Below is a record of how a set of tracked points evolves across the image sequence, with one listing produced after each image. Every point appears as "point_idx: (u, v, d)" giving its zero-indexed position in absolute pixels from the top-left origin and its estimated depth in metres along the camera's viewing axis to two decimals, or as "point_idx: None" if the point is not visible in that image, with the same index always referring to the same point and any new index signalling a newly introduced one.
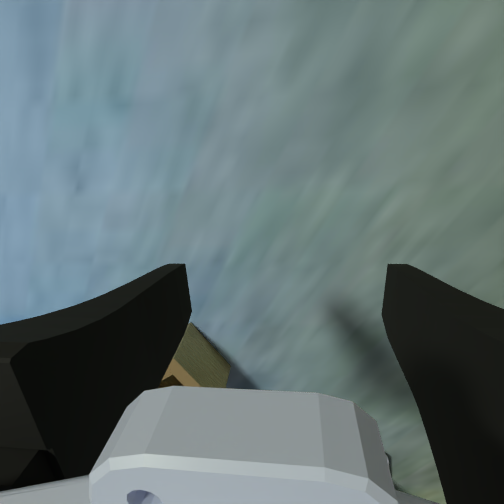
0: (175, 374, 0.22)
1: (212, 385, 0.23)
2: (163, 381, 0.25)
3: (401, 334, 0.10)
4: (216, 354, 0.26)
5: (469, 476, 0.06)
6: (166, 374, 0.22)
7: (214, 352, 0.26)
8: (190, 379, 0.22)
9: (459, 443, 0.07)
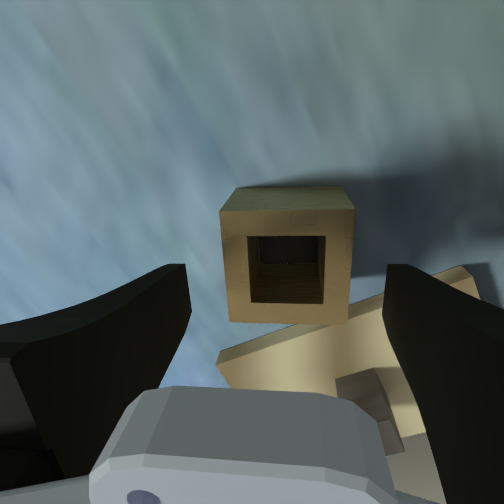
0: (248, 231, 0.13)
1: (318, 203, 0.13)
2: (281, 280, 0.16)
3: (401, 334, 0.10)
4: (305, 188, 0.15)
5: (469, 476, 0.06)
6: (241, 245, 0.13)
7: (298, 188, 0.15)
8: (271, 215, 0.12)
9: (459, 443, 0.07)
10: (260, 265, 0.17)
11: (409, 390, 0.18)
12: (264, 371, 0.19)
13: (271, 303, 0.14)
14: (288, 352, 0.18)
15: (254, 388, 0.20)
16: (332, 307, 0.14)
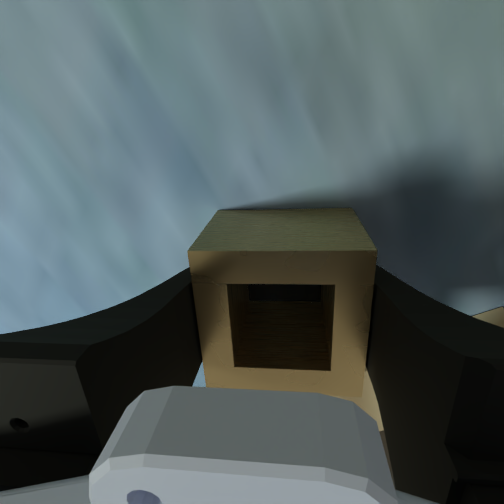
0: (229, 278, 0.09)
1: (324, 238, 0.09)
2: (275, 330, 0.12)
3: None
4: (305, 211, 0.12)
5: (412, 472, 0.06)
6: (219, 295, 0.09)
7: (297, 211, 0.12)
8: (259, 257, 0.09)
9: (405, 439, 0.07)
10: (249, 305, 0.14)
11: None
12: None
13: (261, 368, 0.10)
14: None
15: None
16: (342, 375, 0.10)
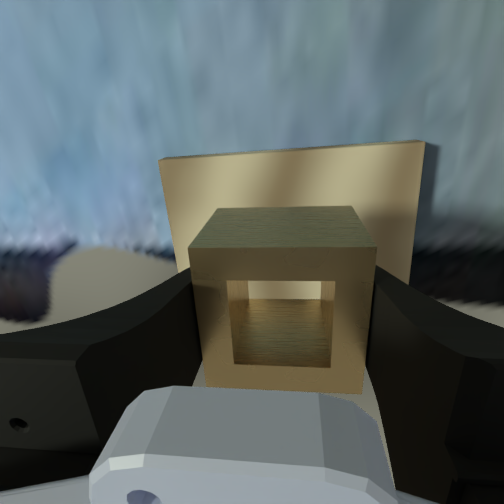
0: (229, 275, 0.09)
1: (324, 235, 0.09)
2: (275, 327, 0.12)
3: None
4: (305, 208, 0.12)
5: (412, 472, 0.06)
6: (219, 292, 0.09)
7: (297, 209, 0.12)
8: (259, 254, 0.09)
9: (405, 440, 0.07)
10: (249, 303, 0.14)
11: None
12: (204, 184, 0.19)
13: (261, 366, 0.10)
14: (235, 169, 0.18)
15: (187, 201, 0.19)
16: (342, 372, 0.10)
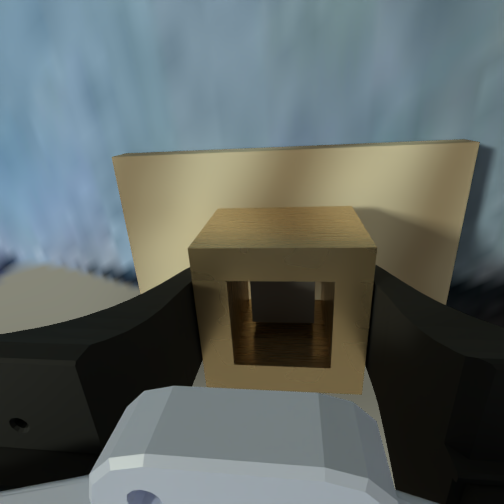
0: (229, 275, 0.09)
1: (324, 235, 0.09)
2: (275, 328, 0.12)
3: None
4: (305, 209, 0.12)
5: (412, 471, 0.06)
6: (219, 292, 0.10)
7: (297, 209, 0.12)
8: (259, 254, 0.09)
9: (405, 440, 0.07)
10: (249, 303, 0.14)
11: None
12: (174, 191, 0.14)
13: (261, 366, 0.10)
14: (216, 172, 0.13)
15: (151, 212, 0.14)
16: (342, 372, 0.10)
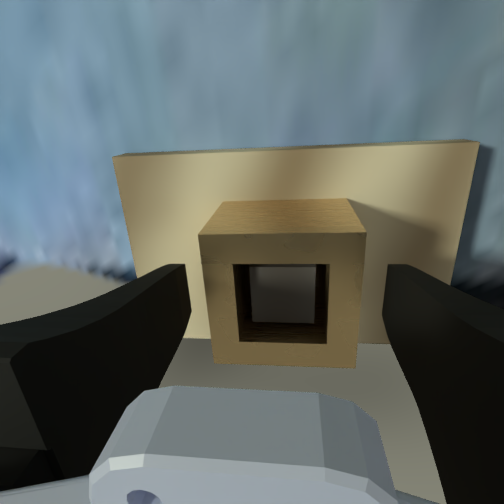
0: (235, 259, 0.10)
1: (320, 223, 0.10)
2: None
3: (401, 334, 0.10)
4: (303, 201, 0.13)
5: (469, 476, 0.06)
6: (226, 274, 0.11)
7: (296, 201, 0.13)
8: (261, 239, 0.10)
9: (459, 443, 0.07)
10: None
11: None
12: (175, 191, 0.14)
13: (264, 342, 0.11)
14: (216, 172, 0.13)
15: (152, 212, 0.14)
16: (337, 347, 0.11)
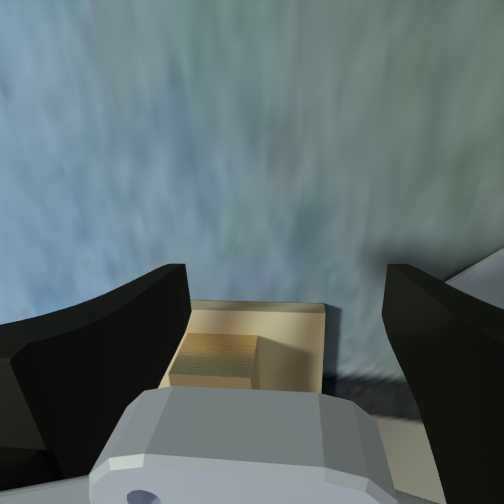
0: (187, 385, 0.20)
1: (232, 366, 0.20)
2: None
3: (401, 334, 0.10)
4: (232, 337, 0.23)
5: (469, 476, 0.06)
6: None
7: (228, 337, 0.23)
8: (200, 378, 0.20)
9: (459, 443, 0.07)
10: None
11: None
12: None
13: None
14: None
15: None
16: None
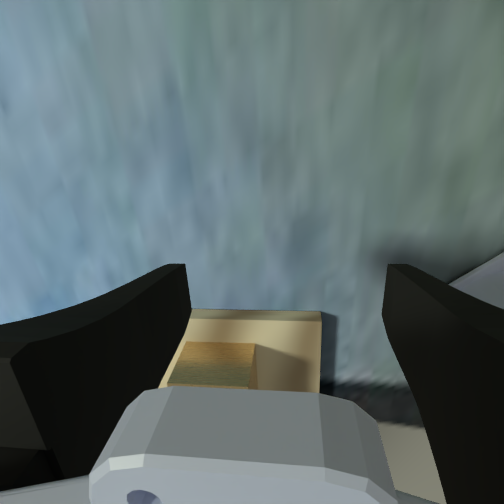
0: None
1: (229, 374, 0.20)
2: None
3: (401, 334, 0.10)
4: (230, 345, 0.23)
5: (468, 476, 0.06)
6: None
7: (226, 345, 0.23)
8: None
9: (459, 443, 0.07)
10: None
11: None
12: None
13: None
14: None
15: None
16: None
